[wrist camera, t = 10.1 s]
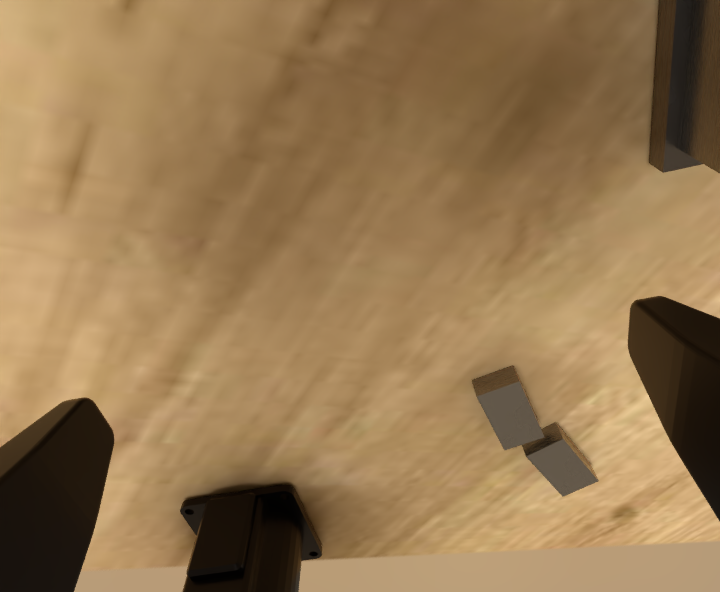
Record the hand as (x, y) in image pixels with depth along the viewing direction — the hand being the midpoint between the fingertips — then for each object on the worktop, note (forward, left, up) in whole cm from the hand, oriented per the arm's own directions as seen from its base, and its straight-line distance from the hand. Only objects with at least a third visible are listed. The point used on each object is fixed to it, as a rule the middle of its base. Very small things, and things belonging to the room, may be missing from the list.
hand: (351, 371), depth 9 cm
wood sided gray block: (-18, -6, -12) cm, 22 cm away
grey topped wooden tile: (-13, -4, -12) cm, 19 cm away
